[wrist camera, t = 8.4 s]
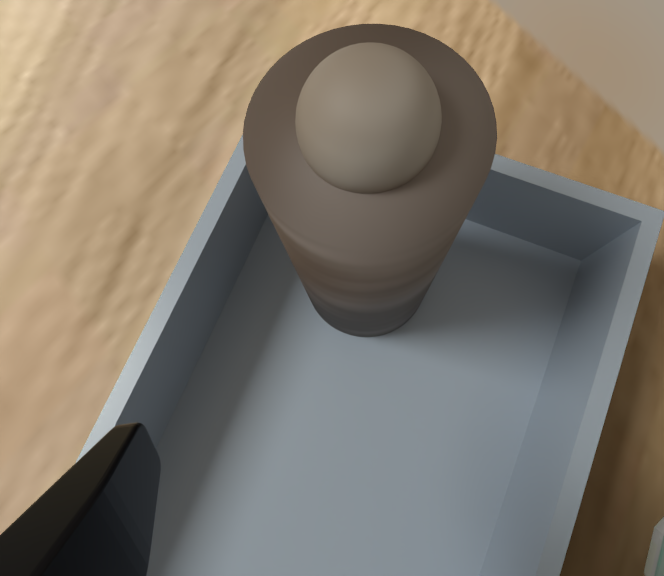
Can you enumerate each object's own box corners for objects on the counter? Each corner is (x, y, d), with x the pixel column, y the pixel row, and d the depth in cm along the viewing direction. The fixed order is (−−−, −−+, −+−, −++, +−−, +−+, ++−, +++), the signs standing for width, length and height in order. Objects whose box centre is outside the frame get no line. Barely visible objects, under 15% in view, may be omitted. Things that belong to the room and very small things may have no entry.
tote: (592, 257, 20) (665, 211, 16) (416, 812, 16) (440, 986, 11) (290, 148, 22) (271, 78, 18) (64, 617, 18) (-43, 695, 13)
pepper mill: (451, 275, 20) (587, 62, 8) (368, 363, 19) (376, 280, 7) (363, 200, 21) (361, -91, 9) (282, 280, 20) (159, 85, 8)
